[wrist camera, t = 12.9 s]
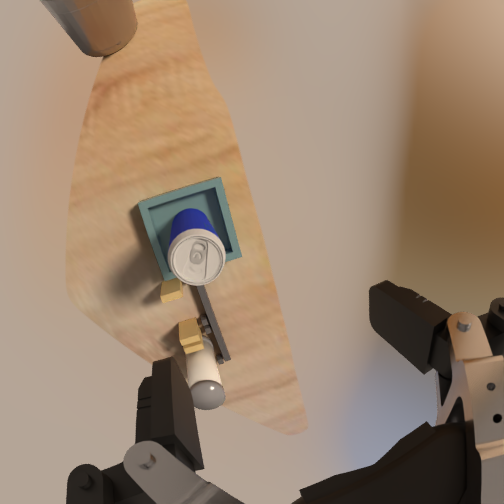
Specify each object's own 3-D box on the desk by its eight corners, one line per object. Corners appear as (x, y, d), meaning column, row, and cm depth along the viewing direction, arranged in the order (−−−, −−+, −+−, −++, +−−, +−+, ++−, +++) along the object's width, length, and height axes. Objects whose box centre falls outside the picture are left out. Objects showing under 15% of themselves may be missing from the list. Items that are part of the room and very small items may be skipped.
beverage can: (204, 248, 39) (220, 293, 25) (168, 241, 37) (162, 283, 23) (213, 212, 38) (234, 237, 24) (176, 204, 36) (173, 225, 22)
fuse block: (161, 279, 39) (159, 293, 35) (198, 267, 40) (200, 280, 35) (198, 365, 45) (201, 384, 40) (229, 355, 46) (235, 373, 41)
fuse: (179, 339, 43) (183, 391, 31) (207, 331, 43) (219, 381, 32) (190, 360, 44) (197, 413, 33) (216, 352, 45) (229, 404, 34)
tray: (140, 200, 35) (137, 203, 33) (218, 176, 37) (220, 177, 35) (165, 274, 39) (164, 281, 37) (238, 251, 41) (242, 256, 39)
